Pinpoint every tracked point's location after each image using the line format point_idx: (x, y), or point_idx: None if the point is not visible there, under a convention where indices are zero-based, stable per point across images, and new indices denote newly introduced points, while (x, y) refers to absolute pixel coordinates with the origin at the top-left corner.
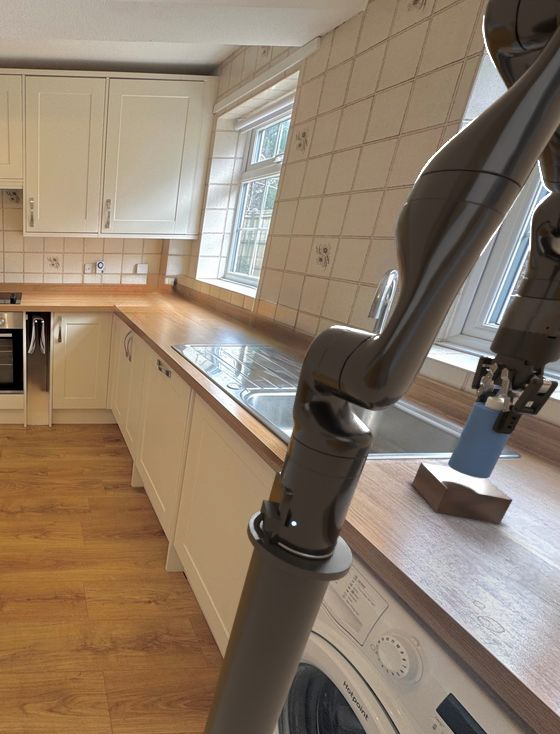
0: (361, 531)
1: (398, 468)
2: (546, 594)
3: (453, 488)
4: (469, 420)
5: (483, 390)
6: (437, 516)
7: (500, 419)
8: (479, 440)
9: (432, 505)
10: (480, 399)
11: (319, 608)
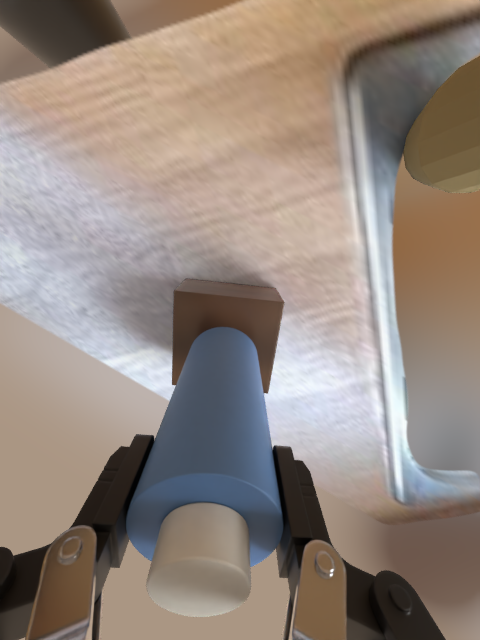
0: (50, 72)
1: (334, 295)
2: (23, 312)
3: (177, 304)
4: (223, 410)
5: (300, 599)
6: (171, 273)
7: (114, 480)
8: (178, 389)
9: (199, 280)
10: (288, 528)
11: (12, 36)
